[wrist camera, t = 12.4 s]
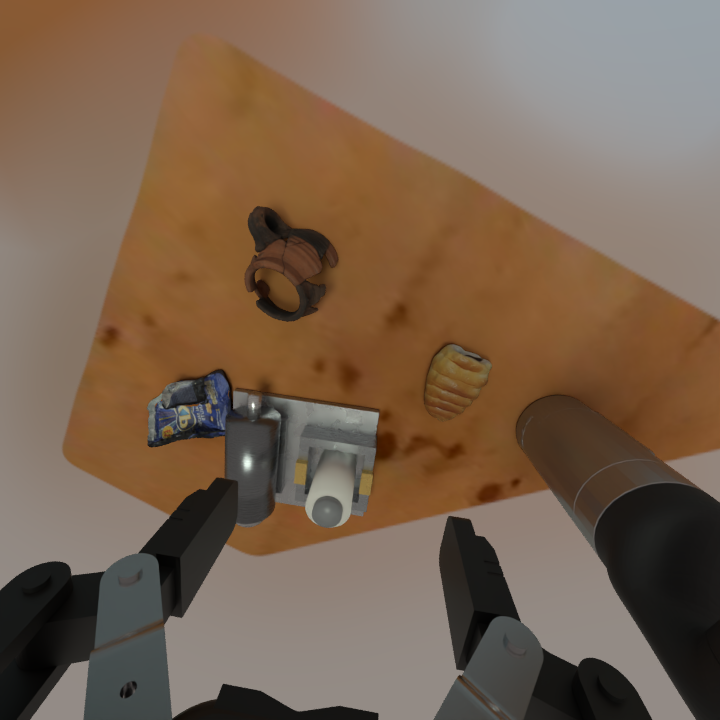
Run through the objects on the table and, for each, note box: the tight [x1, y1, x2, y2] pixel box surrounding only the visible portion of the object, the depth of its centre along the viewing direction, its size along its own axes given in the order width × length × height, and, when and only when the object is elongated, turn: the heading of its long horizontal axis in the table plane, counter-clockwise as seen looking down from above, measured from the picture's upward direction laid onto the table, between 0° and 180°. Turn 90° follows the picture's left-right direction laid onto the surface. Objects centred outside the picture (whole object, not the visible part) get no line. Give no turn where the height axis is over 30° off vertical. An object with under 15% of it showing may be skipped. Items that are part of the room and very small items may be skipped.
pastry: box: [424, 344, 492, 421], centre depth 41 cm, size 9×7×4 cm
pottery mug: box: [245, 206, 338, 322], centre depth 38 cm, size 12×10×8 cm
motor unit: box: [225, 388, 379, 527], centre depth 43 cm, size 19×18×7 cm
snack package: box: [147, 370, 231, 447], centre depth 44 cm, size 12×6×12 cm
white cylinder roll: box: [305, 449, 357, 528], centre depth 41 cm, size 5×5×10 cm
